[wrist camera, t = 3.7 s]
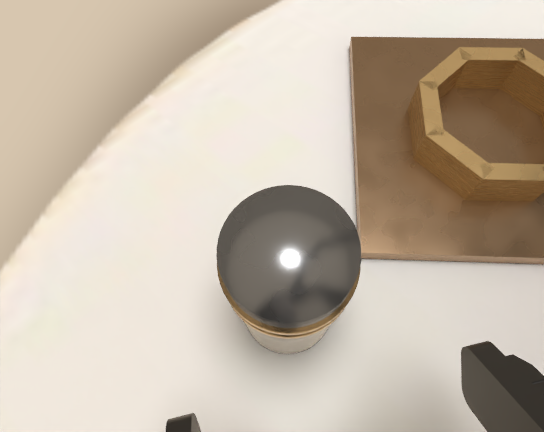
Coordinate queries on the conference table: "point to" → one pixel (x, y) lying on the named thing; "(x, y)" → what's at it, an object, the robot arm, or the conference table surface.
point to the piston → (288, 265)
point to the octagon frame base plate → (449, 148)
